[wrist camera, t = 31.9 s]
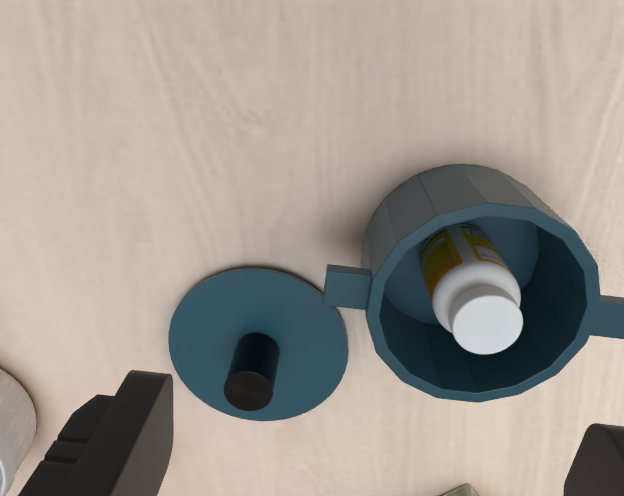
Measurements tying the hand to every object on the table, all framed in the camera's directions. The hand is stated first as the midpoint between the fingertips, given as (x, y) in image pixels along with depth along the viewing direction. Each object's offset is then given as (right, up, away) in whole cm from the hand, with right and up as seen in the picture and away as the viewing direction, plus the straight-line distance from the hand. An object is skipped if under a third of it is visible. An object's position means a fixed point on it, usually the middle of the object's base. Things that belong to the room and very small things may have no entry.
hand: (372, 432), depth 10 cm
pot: (+9, +3, +29) cm, 31 cm away
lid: (-6, -5, +32) cm, 33 cm away
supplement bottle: (+9, +3, +29) cm, 30 cm away
